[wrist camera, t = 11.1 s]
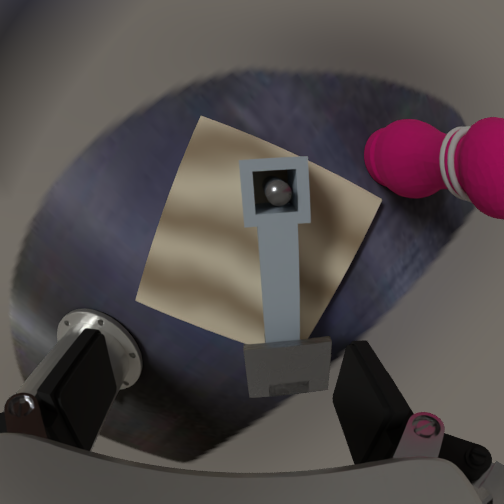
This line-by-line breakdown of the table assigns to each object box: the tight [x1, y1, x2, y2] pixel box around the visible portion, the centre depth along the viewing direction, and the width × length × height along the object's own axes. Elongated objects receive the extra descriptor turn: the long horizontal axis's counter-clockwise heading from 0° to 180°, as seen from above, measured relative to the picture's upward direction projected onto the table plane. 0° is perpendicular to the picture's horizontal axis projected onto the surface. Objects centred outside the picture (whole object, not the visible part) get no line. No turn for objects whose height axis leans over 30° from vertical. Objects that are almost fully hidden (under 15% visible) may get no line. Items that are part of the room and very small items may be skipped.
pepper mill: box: [364, 117, 504, 219], centre depth 17 cm, size 7×7×20 cm
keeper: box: [244, 334, 332, 398], centre depth 28 cm, size 6×7×9 cm
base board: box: [136, 116, 382, 344], centre depth 29 cm, size 20×19×1 cm
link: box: [239, 156, 311, 343], centre depth 26 cm, size 16×5×6 cm, turn 4°
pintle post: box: [262, 176, 291, 206], centre depth 24 cm, size 2×2×8 cm
